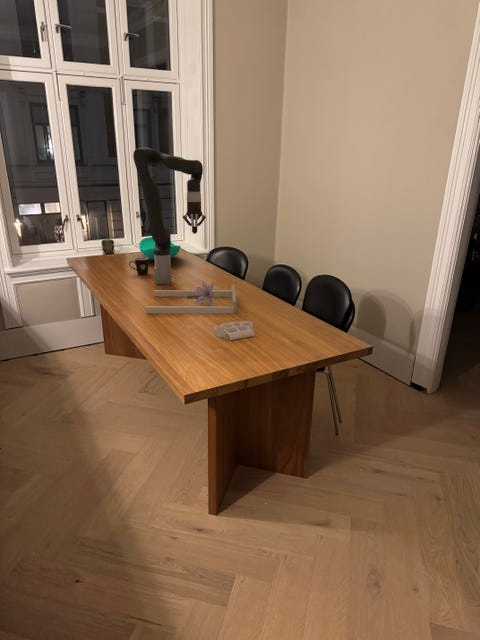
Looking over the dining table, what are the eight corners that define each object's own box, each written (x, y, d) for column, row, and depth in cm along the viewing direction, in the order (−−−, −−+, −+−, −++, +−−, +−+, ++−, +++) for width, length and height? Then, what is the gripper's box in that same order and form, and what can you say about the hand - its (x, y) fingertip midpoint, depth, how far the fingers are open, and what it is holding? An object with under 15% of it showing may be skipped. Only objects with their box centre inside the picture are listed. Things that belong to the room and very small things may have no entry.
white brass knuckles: (223, 343, 178) (209, 331, 190) (261, 336, 186) (245, 325, 198) (223, 336, 177) (209, 324, 189) (261, 329, 184) (245, 318, 197)
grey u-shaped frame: (146, 313, 209) (145, 301, 207) (154, 295, 235) (153, 284, 233) (236, 313, 211) (236, 301, 209) (234, 295, 237) (234, 285, 235)
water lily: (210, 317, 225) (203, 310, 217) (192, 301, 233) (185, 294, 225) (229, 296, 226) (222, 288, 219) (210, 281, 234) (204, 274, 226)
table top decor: (133, 256, 323) (132, 238, 318) (169, 252, 335) (168, 235, 331) (150, 268, 291) (149, 248, 286) (188, 264, 303) (188, 245, 298)
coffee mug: (151, 272, 280) (150, 257, 276) (147, 276, 272) (146, 260, 268) (133, 271, 281) (132, 256, 277) (129, 275, 273) (128, 259, 269)
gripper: (206, 199, 232) (207, 232, 238) (182, 199, 231) (182, 232, 237) (206, 201, 225) (206, 234, 231) (180, 201, 224) (181, 234, 230)
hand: (194, 233), depth 234 cm, fingers closed
